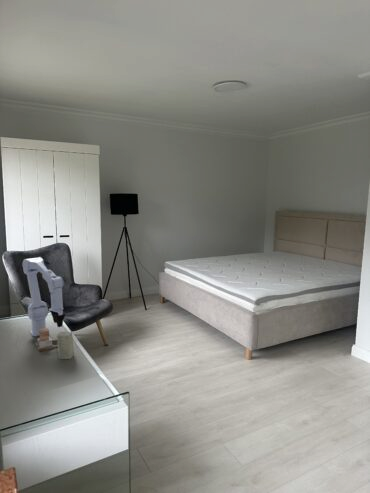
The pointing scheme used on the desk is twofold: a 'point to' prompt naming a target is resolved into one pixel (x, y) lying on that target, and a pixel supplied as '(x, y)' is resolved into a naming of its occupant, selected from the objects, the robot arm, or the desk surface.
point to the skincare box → (65, 345)
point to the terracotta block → (44, 334)
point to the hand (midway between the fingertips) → (58, 324)
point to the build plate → (46, 344)
